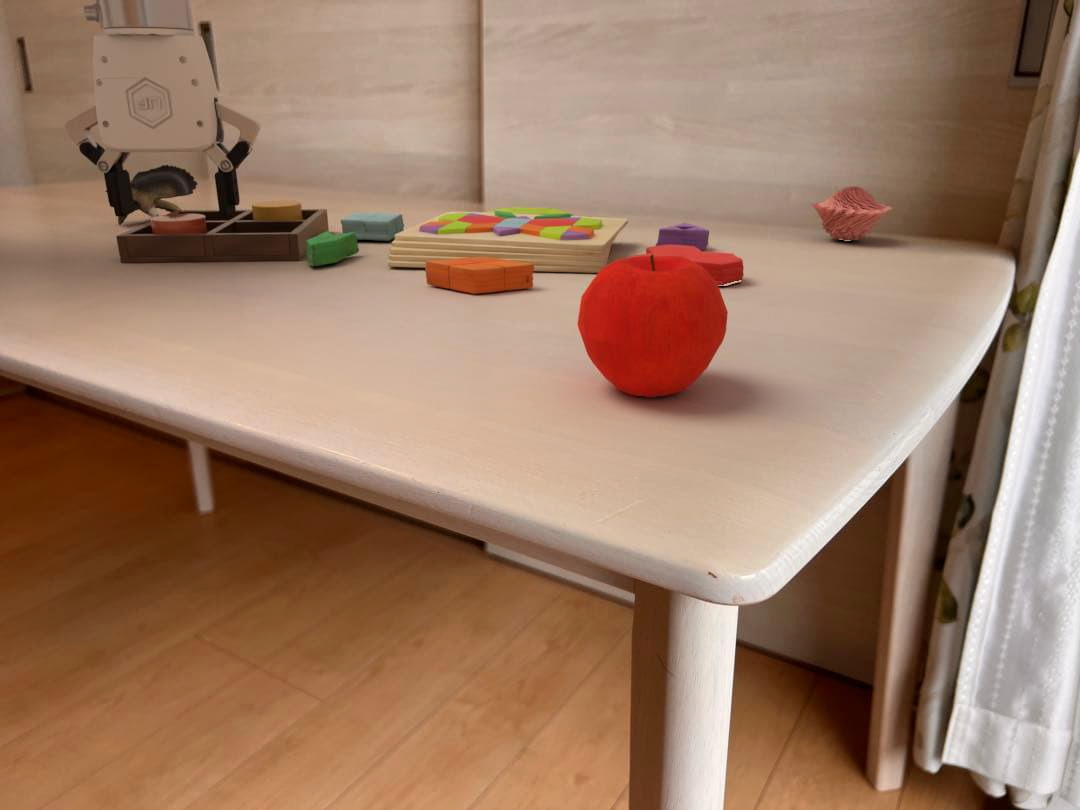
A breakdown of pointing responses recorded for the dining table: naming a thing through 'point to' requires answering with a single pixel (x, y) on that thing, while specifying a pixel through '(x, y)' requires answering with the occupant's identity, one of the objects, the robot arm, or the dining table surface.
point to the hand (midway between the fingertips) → (177, 213)
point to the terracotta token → (179, 224)
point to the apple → (652, 323)
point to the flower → (850, 213)
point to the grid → (225, 239)
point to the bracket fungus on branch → (159, 189)
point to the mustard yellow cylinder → (277, 210)
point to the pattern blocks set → (509, 246)
